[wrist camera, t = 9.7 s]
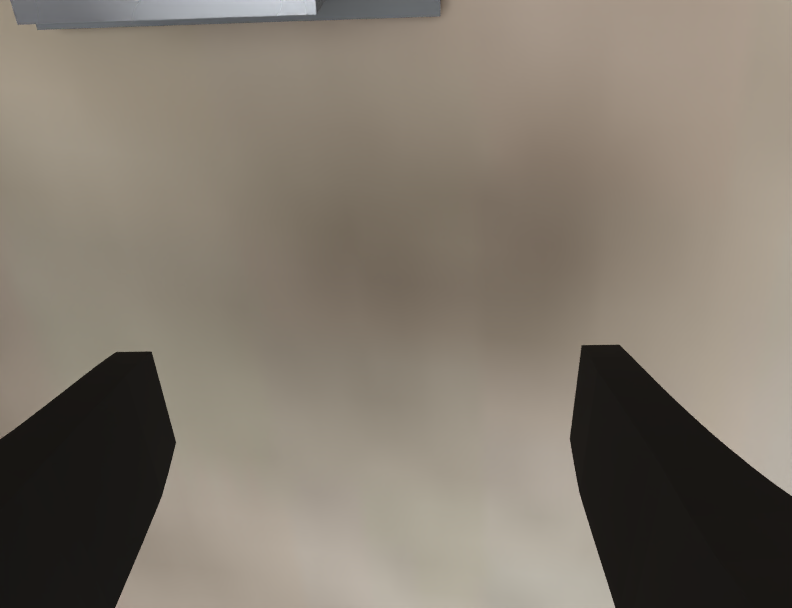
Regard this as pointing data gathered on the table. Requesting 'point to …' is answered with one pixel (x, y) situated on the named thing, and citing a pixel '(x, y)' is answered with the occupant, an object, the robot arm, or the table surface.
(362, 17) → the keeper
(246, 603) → the table surface
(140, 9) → the link
